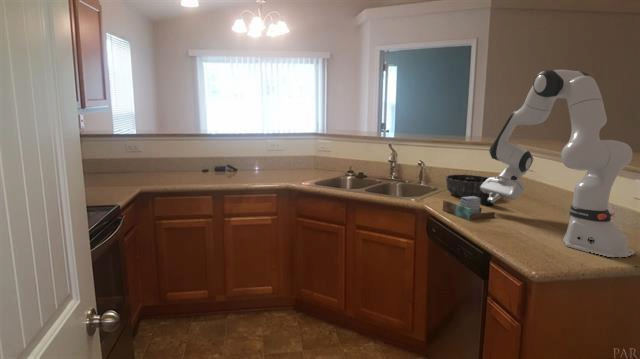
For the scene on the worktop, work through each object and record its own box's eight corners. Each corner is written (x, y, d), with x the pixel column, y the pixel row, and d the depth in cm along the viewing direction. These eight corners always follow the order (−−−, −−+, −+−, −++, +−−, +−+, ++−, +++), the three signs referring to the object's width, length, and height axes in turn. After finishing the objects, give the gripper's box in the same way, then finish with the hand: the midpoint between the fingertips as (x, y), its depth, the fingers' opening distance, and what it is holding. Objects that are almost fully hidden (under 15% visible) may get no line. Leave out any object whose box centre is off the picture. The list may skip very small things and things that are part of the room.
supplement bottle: (496, 204, 220) (498, 181, 217) (490, 206, 215) (493, 183, 213) (483, 202, 224) (485, 180, 222) (477, 204, 219) (479, 181, 217)
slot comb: (494, 216, 196) (495, 206, 195) (468, 220, 190) (469, 209, 189) (467, 207, 212) (468, 198, 211) (442, 210, 206) (443, 200, 205)
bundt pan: (457, 188, 260) (458, 172, 259) (500, 195, 242) (502, 178, 241) (435, 194, 242) (437, 177, 240) (481, 202, 224) (482, 184, 222)
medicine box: (472, 213, 201) (473, 195, 199) (479, 216, 197) (480, 197, 195) (459, 215, 198) (460, 197, 196) (465, 217, 194) (467, 199, 192)
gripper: (487, 171, 210) (470, 192, 208) (522, 179, 191) (504, 201, 189) (493, 180, 212) (477, 200, 210) (528, 188, 194) (510, 210, 192)
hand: (490, 201), depth 200 cm, fingers closed
